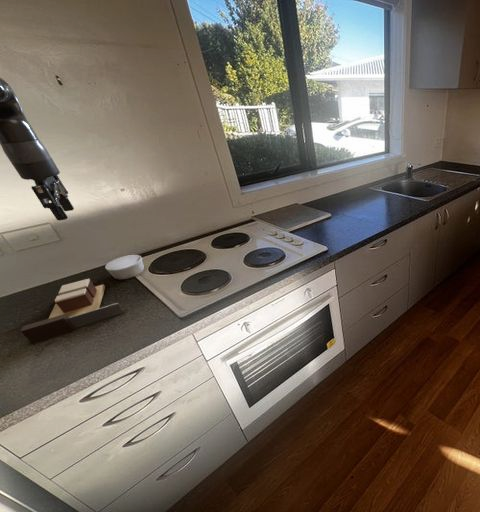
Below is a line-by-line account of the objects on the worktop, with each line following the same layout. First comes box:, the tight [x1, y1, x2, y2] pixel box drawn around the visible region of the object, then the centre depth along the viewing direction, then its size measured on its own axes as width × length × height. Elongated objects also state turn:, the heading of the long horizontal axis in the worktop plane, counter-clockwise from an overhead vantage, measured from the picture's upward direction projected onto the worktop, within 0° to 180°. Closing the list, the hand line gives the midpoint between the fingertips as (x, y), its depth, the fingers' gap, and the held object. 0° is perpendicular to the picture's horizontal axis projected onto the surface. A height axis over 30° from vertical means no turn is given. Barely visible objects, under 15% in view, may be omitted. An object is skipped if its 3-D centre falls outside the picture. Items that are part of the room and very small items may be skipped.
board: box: [48, 284, 106, 319], centre depth 97 cm, size 12×18×1 cm, turn 34°
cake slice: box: [54, 288, 94, 313], centre depth 94 cm, size 7×3×5 cm, turn 124°
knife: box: [20, 302, 124, 345], centre depth 88 cm, size 21×3×5 cm, turn 124°
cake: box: [58, 278, 97, 298], centre depth 98 cm, size 7×5×5 cm
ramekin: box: [104, 254, 145, 280], centre depth 113 cm, size 11×11×5 cm
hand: (66, 214), depth 86 cm, fingers open, 8 cm apart
